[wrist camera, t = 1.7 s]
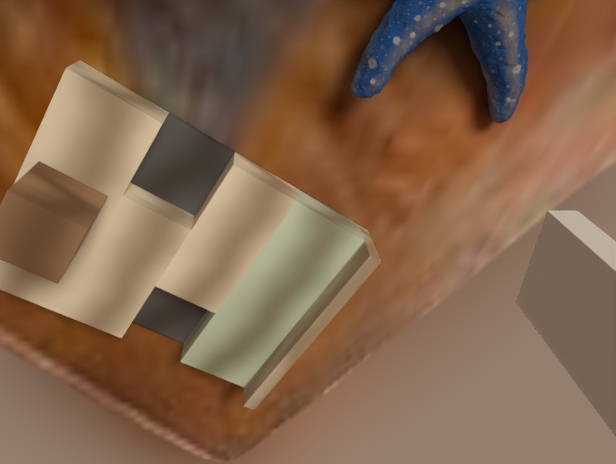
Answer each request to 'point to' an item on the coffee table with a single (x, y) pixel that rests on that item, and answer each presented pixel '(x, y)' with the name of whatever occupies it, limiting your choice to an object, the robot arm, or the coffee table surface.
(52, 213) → the walnut cube
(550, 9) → the coffee table surface
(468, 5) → the starfish
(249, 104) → the coffee table surface
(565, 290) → the robot arm
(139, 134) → the board
